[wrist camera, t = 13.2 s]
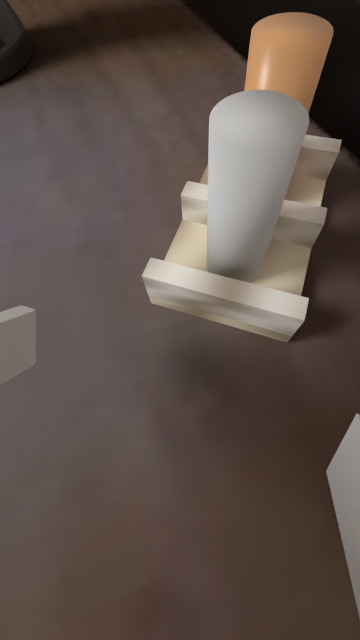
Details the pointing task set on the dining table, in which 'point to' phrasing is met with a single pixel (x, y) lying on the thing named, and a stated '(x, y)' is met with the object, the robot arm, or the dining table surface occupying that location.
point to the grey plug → (249, 176)
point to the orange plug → (288, 54)
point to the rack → (279, 265)
